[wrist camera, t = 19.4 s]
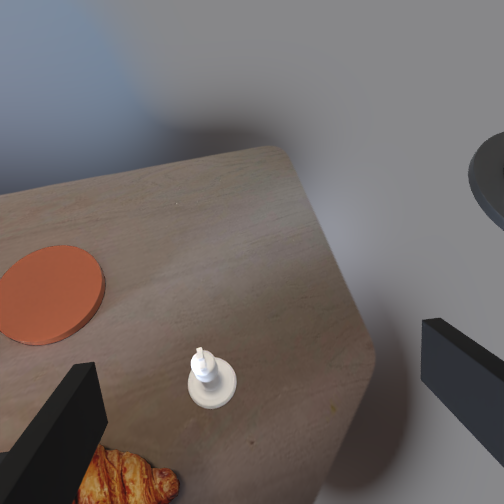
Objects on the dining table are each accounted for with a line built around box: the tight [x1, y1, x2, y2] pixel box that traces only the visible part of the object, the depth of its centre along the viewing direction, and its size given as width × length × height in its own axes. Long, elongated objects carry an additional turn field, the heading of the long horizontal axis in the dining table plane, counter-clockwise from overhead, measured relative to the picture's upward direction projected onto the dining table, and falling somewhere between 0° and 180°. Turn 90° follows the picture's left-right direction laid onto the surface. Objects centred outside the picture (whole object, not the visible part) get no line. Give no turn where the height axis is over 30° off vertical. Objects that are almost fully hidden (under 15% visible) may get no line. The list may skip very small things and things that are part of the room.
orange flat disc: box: [0, 245, 105, 345], centre depth 41 cm, size 12×12×1 cm
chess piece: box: [188, 347, 237, 409], centre depth 32 cm, size 5×5×10 cm
